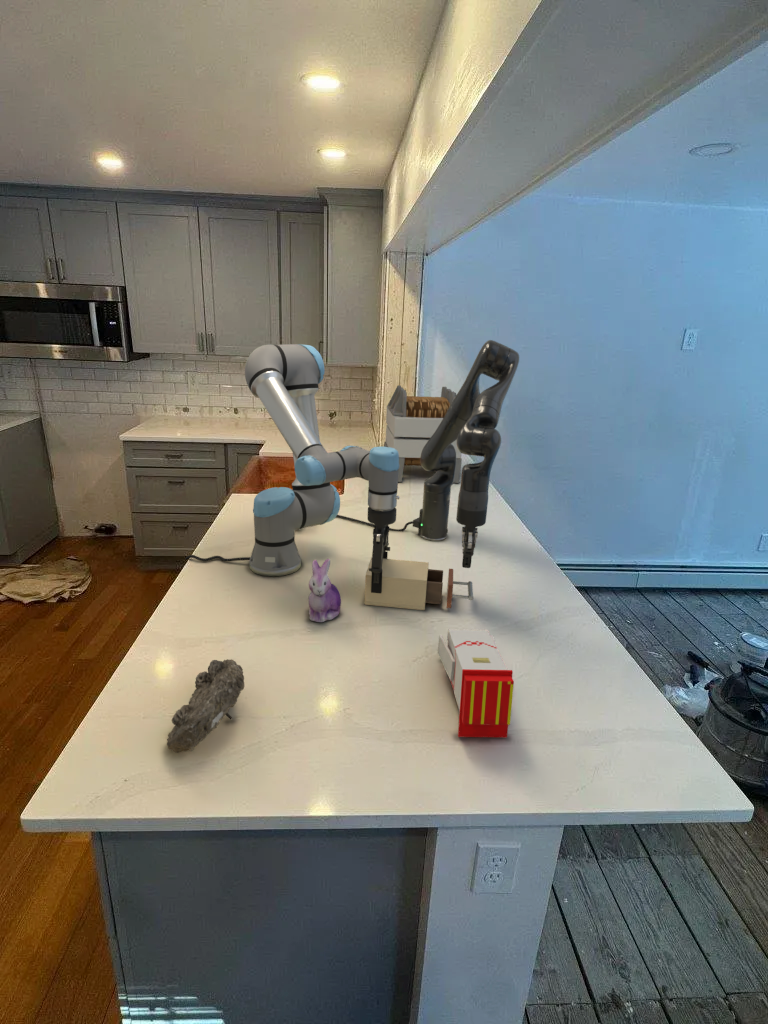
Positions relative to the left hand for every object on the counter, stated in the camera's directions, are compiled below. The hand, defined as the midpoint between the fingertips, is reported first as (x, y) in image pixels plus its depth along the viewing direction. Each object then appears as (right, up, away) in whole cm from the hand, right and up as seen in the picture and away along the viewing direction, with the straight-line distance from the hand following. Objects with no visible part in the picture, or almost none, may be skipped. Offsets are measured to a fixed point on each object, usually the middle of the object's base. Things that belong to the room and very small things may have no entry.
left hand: (379, 582), depth 155 cm
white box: (+19, +38, +120) cm, 127 cm away
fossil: (-31, -20, -47) cm, 60 cm away
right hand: (+23, +5, -5) cm, 24 cm away
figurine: (-14, -7, -9) cm, 18 cm away
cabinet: (+5, -4, +1) cm, 7 cm away
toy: (+19, -18, -36) cm, 45 cm away
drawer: (+15, -4, 0) cm, 16 cm away
